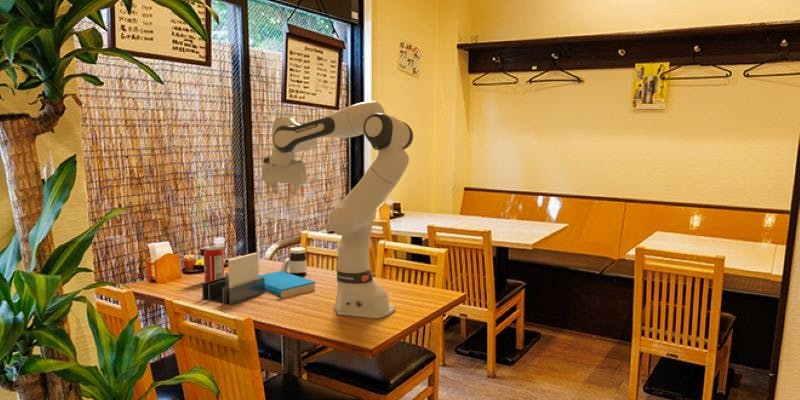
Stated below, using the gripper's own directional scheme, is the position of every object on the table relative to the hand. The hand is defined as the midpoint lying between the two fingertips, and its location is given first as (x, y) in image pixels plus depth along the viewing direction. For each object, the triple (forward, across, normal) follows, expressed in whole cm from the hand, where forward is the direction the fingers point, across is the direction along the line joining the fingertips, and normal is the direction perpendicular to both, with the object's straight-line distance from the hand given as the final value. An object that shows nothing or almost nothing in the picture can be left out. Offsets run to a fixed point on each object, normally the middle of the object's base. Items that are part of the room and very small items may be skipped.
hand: (284, 194), depth 216 cm
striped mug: (+39, +14, -22) cm, 47 cm away
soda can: (+39, +34, +6) cm, 52 cm away
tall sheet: (+38, +4, +19) cm, 43 cm away
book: (+40, +4, -1) cm, 40 cm away
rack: (+39, +10, +19) cm, 45 cm away
